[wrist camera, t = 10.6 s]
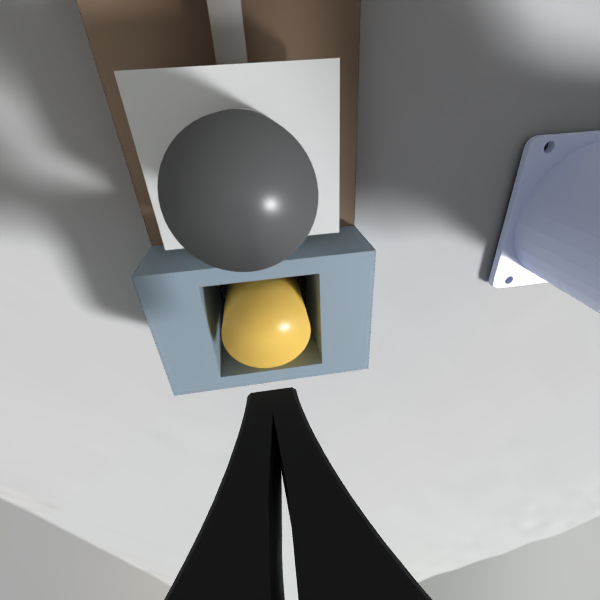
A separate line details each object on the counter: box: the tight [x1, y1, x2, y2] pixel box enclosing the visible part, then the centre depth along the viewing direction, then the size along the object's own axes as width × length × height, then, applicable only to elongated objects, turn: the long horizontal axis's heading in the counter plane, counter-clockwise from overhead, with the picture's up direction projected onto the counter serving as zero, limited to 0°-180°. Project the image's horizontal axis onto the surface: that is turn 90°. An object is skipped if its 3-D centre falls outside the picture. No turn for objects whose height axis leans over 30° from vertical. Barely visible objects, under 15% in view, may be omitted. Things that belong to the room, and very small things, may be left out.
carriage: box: [114, 58, 340, 272], centre depth 10 cm, size 6×5×8 cm
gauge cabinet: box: [132, 226, 376, 396], centre depth 16 cm, size 9×6×4 cm, turn 93°
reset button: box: [222, 276, 311, 368], centre depth 15 cm, size 4×4×4 cm
